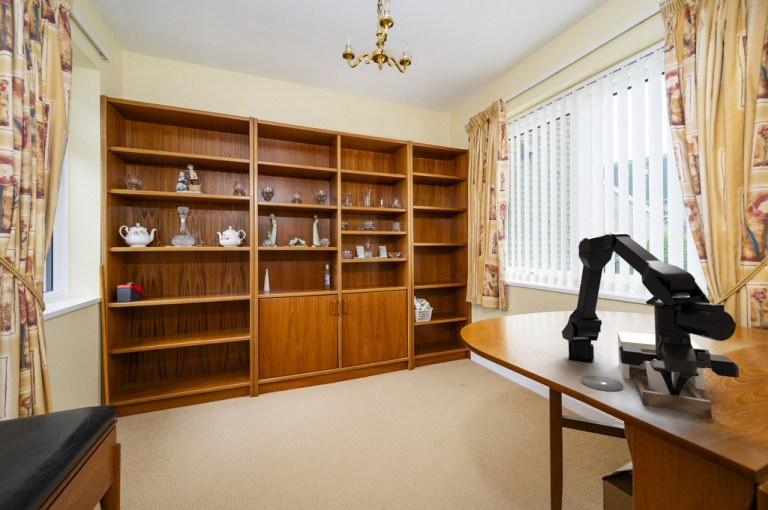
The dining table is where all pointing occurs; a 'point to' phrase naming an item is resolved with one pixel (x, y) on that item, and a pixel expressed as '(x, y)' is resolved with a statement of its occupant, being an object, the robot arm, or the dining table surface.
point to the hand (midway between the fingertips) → (674, 398)
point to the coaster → (601, 383)
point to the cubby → (648, 345)
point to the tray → (674, 399)
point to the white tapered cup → (656, 379)
